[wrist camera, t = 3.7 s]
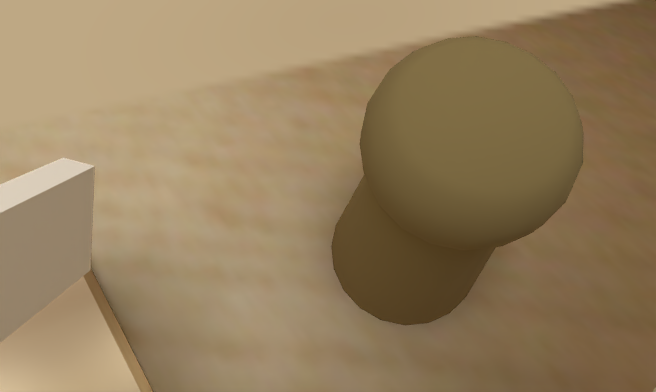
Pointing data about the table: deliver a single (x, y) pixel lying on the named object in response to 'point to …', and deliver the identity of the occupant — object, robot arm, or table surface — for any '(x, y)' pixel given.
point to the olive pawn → (453, 174)
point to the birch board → (71, 348)
